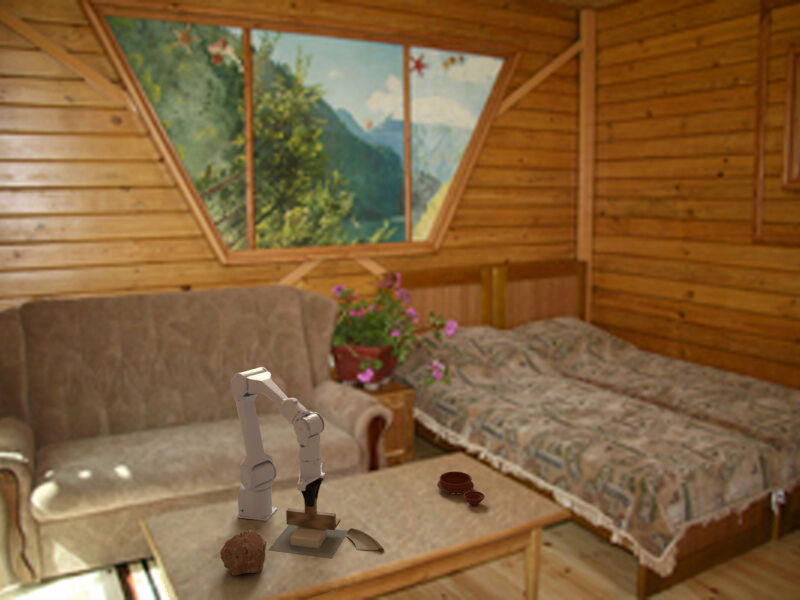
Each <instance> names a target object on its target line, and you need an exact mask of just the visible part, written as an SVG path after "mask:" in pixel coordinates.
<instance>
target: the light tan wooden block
mask: <svg viewBox="0 0 800 600" xmlns="http://www.w3.org/2000/svg"><path fill="white" fill-rule="evenodd" d="M326 537H327V529H320V528H311V527H303V526H299V527H298V528H297V529H296V530H295V532H294V533H293V534H292V536H291V545H292V546H300V547H308V548H316V549H319V547H320V546H321V545H322V543H323V542H324V540H325V539H326Z"/></svg>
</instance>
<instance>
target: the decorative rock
mask: <svg viewBox="0 0 800 600" xmlns="http://www.w3.org/2000/svg"><path fill="white" fill-rule="evenodd" d="M266 548H267V541H266V540H265V538H263V537H262V536H261V534H260V533H258V531H255V530H253V529H248V530H245V531H243V530H241V531H239V533H238V534H235V535H234V536H232V537H231V538H230V539H229V538H228V540H226V541H225V543H224V545H223V546H222V548H221V549H220V552H219V553H220V557H219V558H220V559H221V562H222V563H223V566H224V568H226V569H227V570H228V571H229V572H230V574H232V576H239V575H242V574H243V575H244V574H250V573H251V574H255V573H260V572H261V571H262V570H263V568H264V563H265V559H266Z"/></svg>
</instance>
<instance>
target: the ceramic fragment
mask: <svg viewBox="0 0 800 600" xmlns="http://www.w3.org/2000/svg"><path fill="white" fill-rule="evenodd" d="M347 531H348V532H347V533H346V537H345V538H347V539H348V540H349V541H351V542H352V544H354V547H355V549H356V550H357V551H381V552H385V549H384V548H383V546H382V545H381V544H380V543H379V541H377V540H376V539H375V538H374V536H372V535H370V534H368V533H367V532H365V531H363V530H362V529H361V530H360V529H358V528H353V527H350V528H349V529H348V530H347Z"/></svg>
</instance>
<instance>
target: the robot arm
mask: <svg viewBox="0 0 800 600" xmlns="http://www.w3.org/2000/svg"><path fill="white" fill-rule="evenodd" d="M230 385H231V391H232V395H233V400H234V401H235V406H236V411H237V417H238V421H239V426H240V431H241V437H242V442H243V446H244V451H245V457H244V458H243V460H242V461H241V462H240V464H239V469H240V470H239V471H240V472H239V473H240V474H239V480H240V483H241V485H240V487H239V489H238V492H237V493H238V494H237V508H238V515H237V518H238V519H239V518H240V519H248V520H255V521H262V522H263V521H264V522H268V520H269V519H270V518H271V517H272V516H273V515H274V513H275V512H277V510H278V507H276V506H273V496H272V495H273V494H272V491H273V490H272V485H273V484H274V480H276V478H277V476H278V470H277V466H276V464H275V461H274V459H273V456H272V455H271V454H268V453H267V452H266V451H265V448H264V444H263V439H262V433H261V429H260V428H261V427H260V424H259V418H258V413H257V408H256V403H255V400H256V398H257V396H258V395H259V394H262V395H263V396H264V397H266V398H268V399H269V400H270V401H271V402H273V403H274V404H275V405H276V406H277V407H278V408H279V410H278V411H279V413H280V415H281V416H282V417H283V418H284V419H285V420H287V422H288V423H290V424H291V426H293V431H294V433H295V435H296V439H297V443H298V447H299V449H298V450H299V474H298V482H297V486H296V487H297V491H300V492H301V495H302V497H303V500H304V501H305V503H304V505H305V504H306V506H310V507H313V506H314V503H315V498H317V499H318V498H319V497H318V496H319V493H320V488H321V486H322V482H323V481H324V478H325V476H326V473H325V472H323V469H324V464H323V463H324V462H322V461H321V460H322V458H321V457H322V455H321V453H322V452H321V433H323V431H324V430H325V421H324V419H323V417H322V415H321V414H320V413H319V412H316V411H314V412H313V411H311V410H308V409H307V408H306V407H305V406H304V405H303V404H302V403H300V402H299V400H298V399H297V397H296V398H295V397H288V396H287V395H286V394H285V393H284V392H283V390H281V389H280V387H279V386H277V384H276V383H275V382H274V380H273V377H272V374H271V372H270V371H269V370H268V369H267V368H265V367H263V366H259V367H257V368H252V369H248V370H246V371H242V372H236V373H234V374H233V376H232V378H231V379H230Z"/></svg>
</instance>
